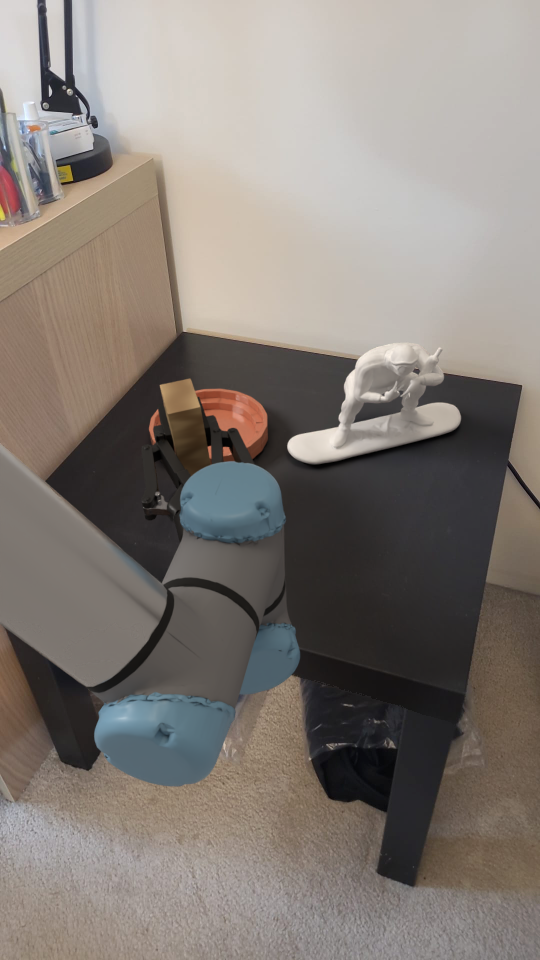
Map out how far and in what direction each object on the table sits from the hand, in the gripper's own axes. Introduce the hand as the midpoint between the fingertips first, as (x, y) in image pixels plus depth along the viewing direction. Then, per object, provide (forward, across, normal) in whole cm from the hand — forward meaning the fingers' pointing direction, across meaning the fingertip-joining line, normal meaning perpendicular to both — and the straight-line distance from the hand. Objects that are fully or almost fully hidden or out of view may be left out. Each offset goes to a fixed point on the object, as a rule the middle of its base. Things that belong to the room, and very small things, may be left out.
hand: (179, 409), depth 83 cm
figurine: (0, +26, -11) cm, 28 cm away
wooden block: (-5, 0, -7) cm, 9 cm away
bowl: (+7, +4, -10) cm, 13 cm away
